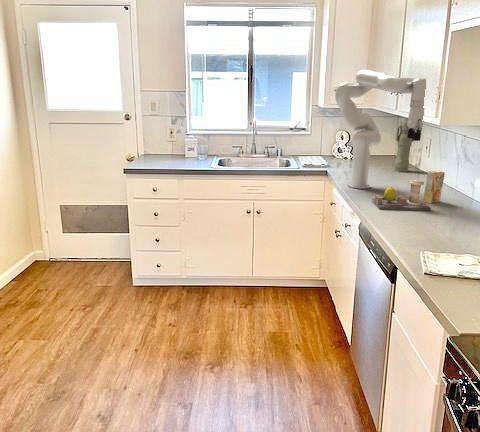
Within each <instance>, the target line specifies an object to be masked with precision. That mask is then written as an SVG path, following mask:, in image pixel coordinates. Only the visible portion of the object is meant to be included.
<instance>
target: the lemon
mask: <svg viewBox="0 0 480 432" xmlns="http://www.w3.org/2000/svg"><path fill="white" fill-rule="evenodd" d="M383 194H384V195H383V197H384V198H385V200H386V201H388V202H389V203H390V202H391V201H393V200H395V198H397V189H395V188H394V187H393V186H389V187H387V188H386V189H385V191H384V193H383Z"/></svg>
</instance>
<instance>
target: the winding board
mask: <svg viewBox="0 0 480 432" xmlns="http://www.w3.org/2000/svg"><path fill="white" fill-rule="evenodd" d="M396 198H397V199H396ZM396 198H395V200H393V201H391V202H390V203H389V202H388V201H386V200H385V198H384V196H381V195H380V194H374V198H372V200H371V201H372V203H373V204H374V205H375V207H377V209H378V210H384V211H385V210H386V211H387V210H390V211H391V210H392V211H415V212H417V211H419V212H431V211H432V207H430V206H429V205H428V204H426V202H423V200H421V199H419V201H420V202H421V205H419V206H414V205H408V204H406V200H408V199H407V198H406V197H405V196H404V195H397V196H396Z"/></svg>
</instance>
